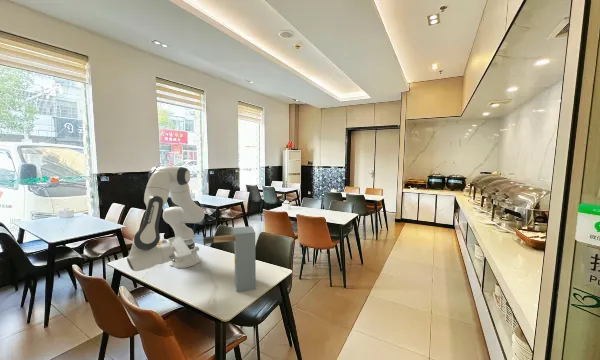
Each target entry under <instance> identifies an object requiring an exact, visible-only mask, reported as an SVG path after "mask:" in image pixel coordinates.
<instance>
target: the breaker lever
mask: <svg viewBox="0 0 600 360" xmlns="http://www.w3.org/2000/svg"><path fill="white" fill-rule="evenodd" d="M202 240H203V245H207V244H215V243H224V242H225V243H228V242H234V241H235V235H234V234H227V235H217V236H204V237H203V239H202Z"/></svg>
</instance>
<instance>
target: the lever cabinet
mask: <svg viewBox="0 0 600 360" xmlns="http://www.w3.org/2000/svg"><path fill="white" fill-rule="evenodd" d="M233 233H234V234H233V235H235V241H233V242H234V244H233V245H234V283H235V290H236V293H240V292H246V291H252V290H256V289H257V287H256V285H257V283H256V277H257V276H256V274H257V271H256V265H257V264H256V263H257V262H256V231H255V229H254V227H253V226H240V227H234V229H233Z"/></svg>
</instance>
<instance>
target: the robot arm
mask: <svg viewBox="0 0 600 360" xmlns="http://www.w3.org/2000/svg"><path fill="white" fill-rule="evenodd" d="M190 179H191V171H190V170H189V169H188V168H187V167H185V166H184V167H183V166H170V165H169V166H153V167H152V168H151V169H150V170H149V172H148V182H147V184H146V188H145V191H144V195H143V196H144V197H143V202H144V204H145V206H146V211H145V215H144V218H143V223H142V225H141V227H140V228H139V229H138V231H137V232H136V233H135V235H134V236H133V239H132V244H131V248H130V251H129V253H128V255H127V257H126V260H127V264H128V267H129V268H130V269H131V270H132V271H134V272H140V271H145V270H147V269H148V270H149V269H151V268H152V269H153V268H154V267H155V266H157V265H164V264H165V263H169V262H170V263H169V266H170V267H174V268H176V269H185V268H191V267H192V266H195V265H197V264H200V263H201V258H200V256H199V254H198V251H200V247H199V246H195V245H196V243H195V240H194V239H195V235H194V234H195V233H194V232H195V231H193V229H192V228H191V227H188V226H187V225H186V224H196V223H200V222H202V221H203V220H204V217H205V214H206V213H205V210H204V208H203V207H201V206H199V204H196V202H194V200H193V199H192V195H191V192H190V186H189V182H190ZM169 196H170V199H171V202H172V203H173V204H175V205H177V206H170V207H167V208H165V209H164V211H163V212H162V210H163V208H164V207H165V205H166V203H167V201H168V199H169ZM161 214H162V218H163V221H164V222H165V223H166V224H169V226H170V227H171V228H172V230H173V232H174V236H173V237H170V238H167V239H166V238H165V239H162V240H160V239H161V235H160V230H159V223H160V218H161ZM160 242H161V243H160ZM159 243H160V245H158V244H159ZM157 245H158V246H157Z"/></svg>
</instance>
